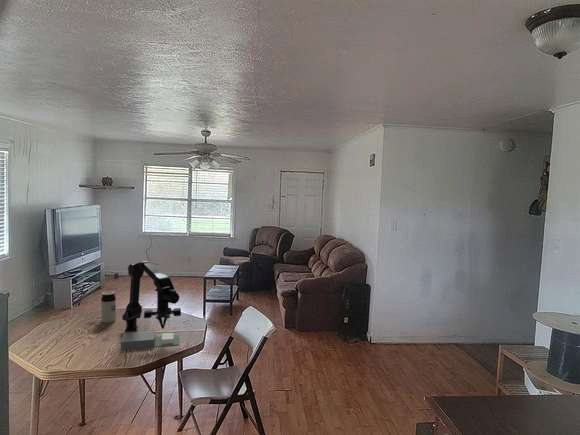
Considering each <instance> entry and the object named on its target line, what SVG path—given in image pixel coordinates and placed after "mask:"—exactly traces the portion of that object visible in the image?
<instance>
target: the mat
mask: <svg viewBox="0 0 580 435" xmlns="http://www.w3.org/2000/svg"><path fill="white" fill-rule="evenodd" d="M172 346H180V335H179V334H174V342H173V343H169V344H162V335H160V336H155V344H154V348H160V347H161V348H162V347H172Z"/></svg>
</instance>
